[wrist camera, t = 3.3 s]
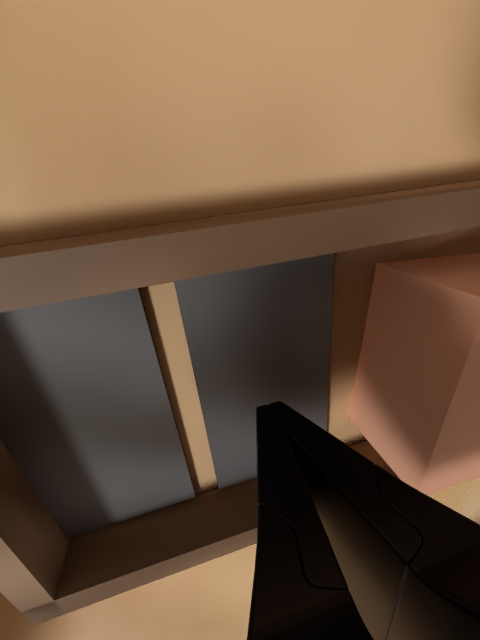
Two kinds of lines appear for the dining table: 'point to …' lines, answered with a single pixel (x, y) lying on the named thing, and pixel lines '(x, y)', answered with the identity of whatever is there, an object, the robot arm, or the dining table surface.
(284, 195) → the dining table surface
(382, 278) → the block
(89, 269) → the channel
